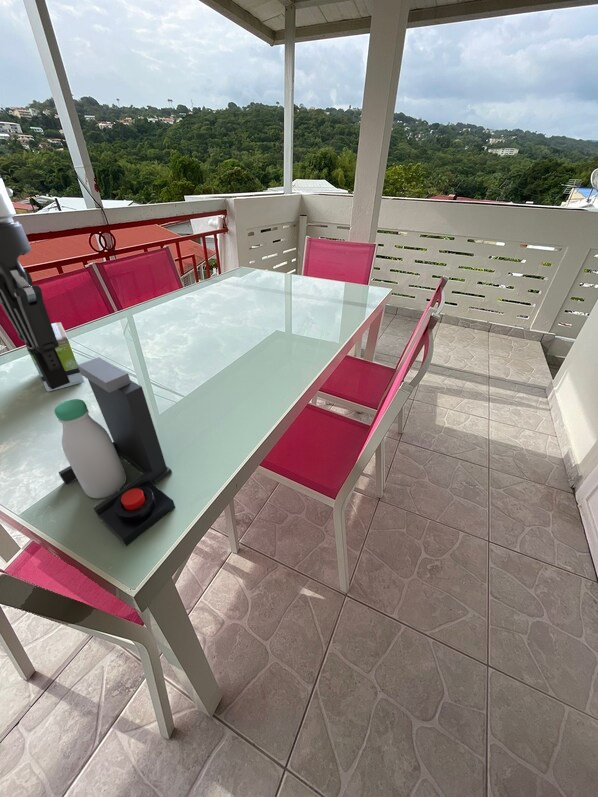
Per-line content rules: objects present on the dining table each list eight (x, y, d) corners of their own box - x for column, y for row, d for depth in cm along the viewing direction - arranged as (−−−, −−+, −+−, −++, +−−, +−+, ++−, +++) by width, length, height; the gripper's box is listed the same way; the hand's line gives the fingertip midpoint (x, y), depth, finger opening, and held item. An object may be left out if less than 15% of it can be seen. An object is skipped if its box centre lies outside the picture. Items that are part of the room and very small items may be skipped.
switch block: (126, 546, 56) (119, 533, 54) (102, 522, 60) (95, 508, 58) (175, 507, 63) (171, 493, 61) (151, 487, 67) (146, 474, 65)
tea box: (86, 382, 100) (67, 336, 91) (47, 393, 95) (23, 346, 86) (78, 362, 109) (60, 320, 101) (42, 371, 104) (20, 327, 96)
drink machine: (102, 522, 60) (47, 419, 47) (62, 481, 68) (5, 382, 54) (172, 473, 70) (143, 376, 57) (130, 442, 78) (96, 350, 64)
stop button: (130, 514, 58) (128, 508, 57) (119, 504, 59) (116, 497, 58) (149, 500, 60) (146, 494, 59) (138, 491, 62) (135, 485, 61)
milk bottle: (135, 480, 69) (103, 401, 57) (99, 506, 63) (57, 425, 52) (112, 465, 72) (79, 388, 61) (77, 488, 67) (33, 409, 55)
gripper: (38, 222, 39) (102, 387, 53) (-1, 214, 46) (65, 363, 59) (-43, 229, 34) (51, 410, 48) (-74, 219, 41) (17, 380, 54)
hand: (59, 384), depth 54 cm, fingers closed
